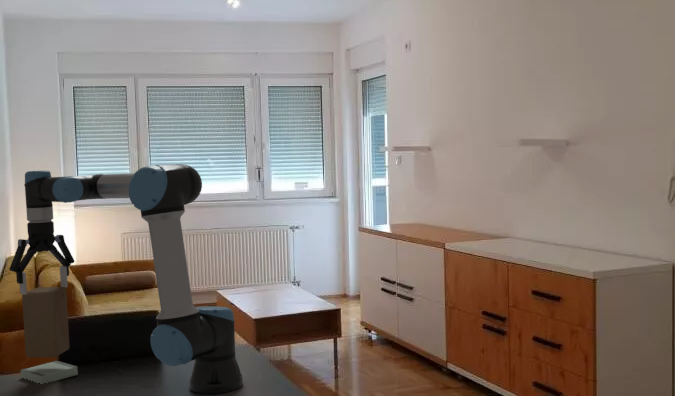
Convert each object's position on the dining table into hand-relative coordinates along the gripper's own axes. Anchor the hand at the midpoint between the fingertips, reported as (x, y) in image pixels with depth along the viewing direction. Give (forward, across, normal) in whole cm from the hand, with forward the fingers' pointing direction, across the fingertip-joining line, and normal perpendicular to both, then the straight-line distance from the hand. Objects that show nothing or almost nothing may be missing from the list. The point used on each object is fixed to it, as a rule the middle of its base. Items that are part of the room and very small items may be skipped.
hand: (44, 290), depth 234 cm
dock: (+27, 0, 0) cm, 27 cm away
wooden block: (+20, 0, 0) cm, 20 cm away
